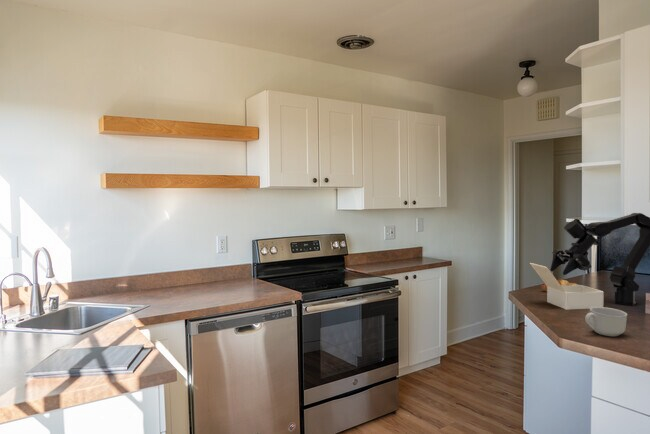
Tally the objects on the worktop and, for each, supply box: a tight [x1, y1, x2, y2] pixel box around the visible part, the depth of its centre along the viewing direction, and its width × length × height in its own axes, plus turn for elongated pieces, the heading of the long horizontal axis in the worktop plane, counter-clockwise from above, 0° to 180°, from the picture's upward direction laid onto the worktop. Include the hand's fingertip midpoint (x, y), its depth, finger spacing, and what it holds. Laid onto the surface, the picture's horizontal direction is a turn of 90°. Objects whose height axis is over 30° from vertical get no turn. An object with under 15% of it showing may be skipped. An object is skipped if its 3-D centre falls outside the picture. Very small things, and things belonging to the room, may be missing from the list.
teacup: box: [584, 306, 628, 337], centre depth 152 cm, size 14×11×8 cm
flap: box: [529, 262, 565, 292], centre depth 192 cm, size 13×13×1 cm
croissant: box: [540, 279, 579, 292], centre depth 217 cm, size 21×10×8 cm, turn 60°
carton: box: [546, 284, 604, 311], centre depth 193 cm, size 16×15×7 cm
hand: (557, 272), depth 192 cm, fingers open, 9 cm apart
